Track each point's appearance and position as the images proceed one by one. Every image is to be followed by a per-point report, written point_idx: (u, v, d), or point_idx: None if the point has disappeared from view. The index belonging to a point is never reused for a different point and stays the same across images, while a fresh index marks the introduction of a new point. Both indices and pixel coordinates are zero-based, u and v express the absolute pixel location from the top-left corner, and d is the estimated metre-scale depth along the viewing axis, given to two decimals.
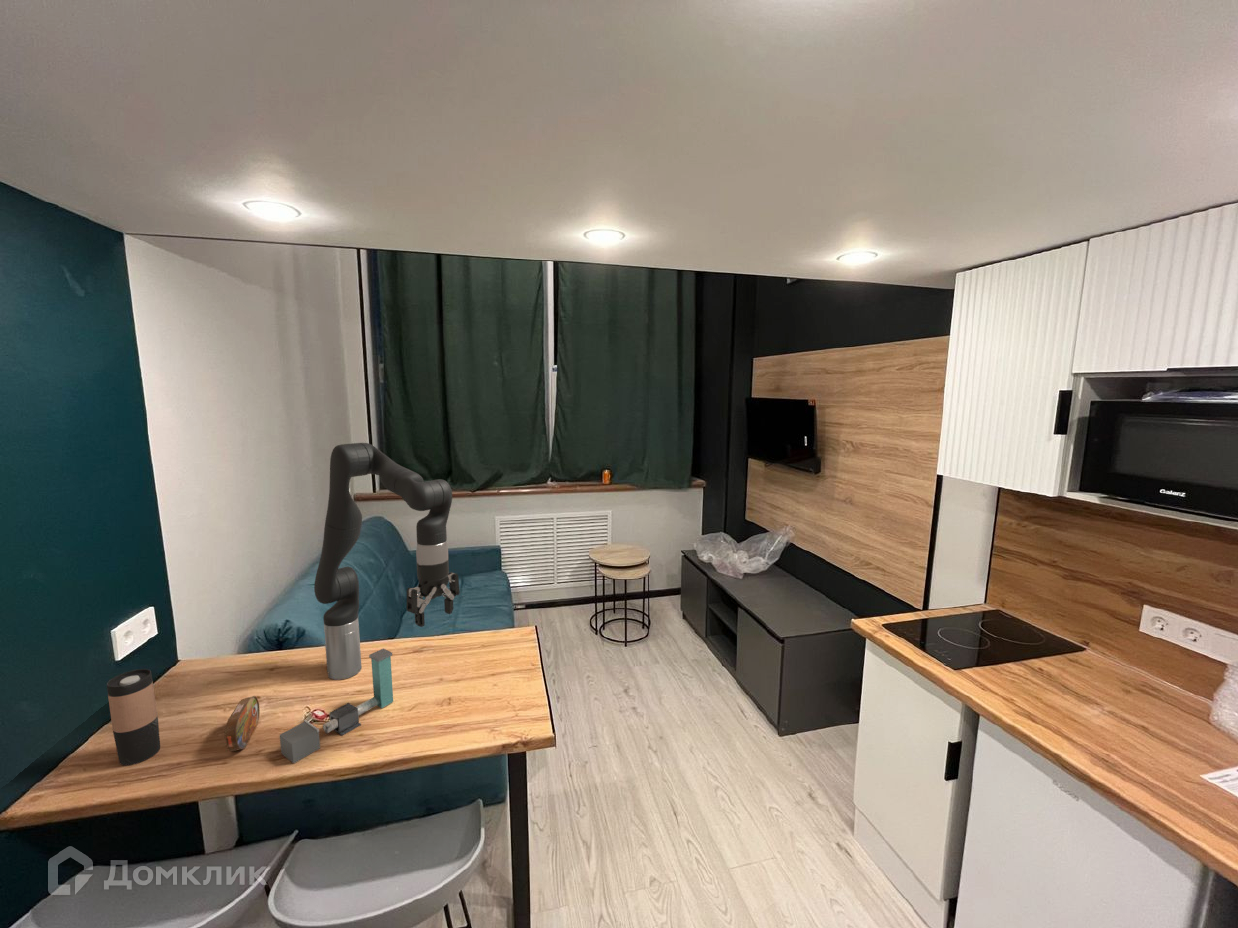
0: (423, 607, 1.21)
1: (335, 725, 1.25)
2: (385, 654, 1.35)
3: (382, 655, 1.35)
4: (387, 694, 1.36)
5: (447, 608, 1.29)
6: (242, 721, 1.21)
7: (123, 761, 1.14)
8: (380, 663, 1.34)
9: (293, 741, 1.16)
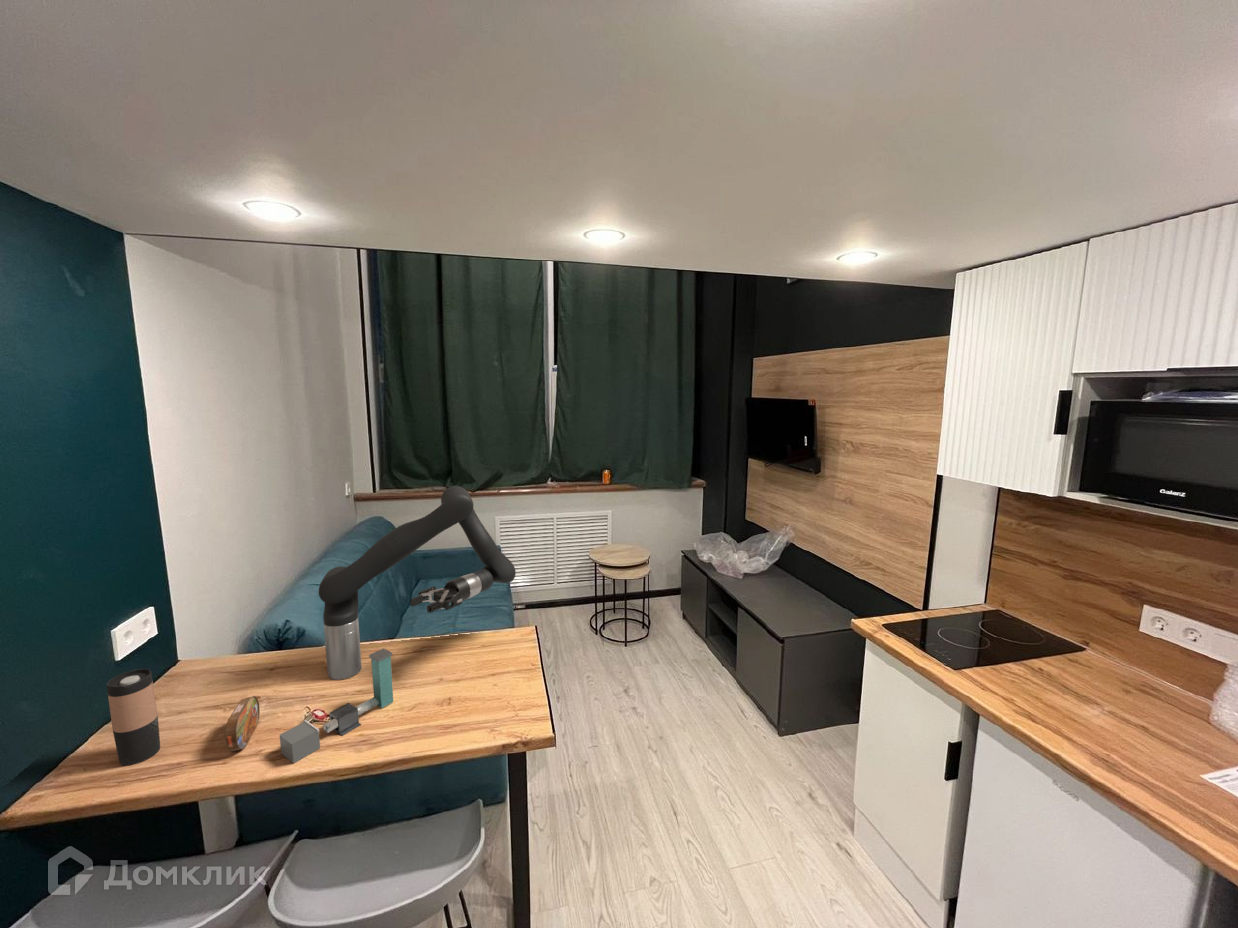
0: None
1: (335, 725, 1.25)
2: (385, 654, 1.35)
3: (382, 655, 1.35)
4: (387, 694, 1.36)
5: (415, 602, 1.48)
6: (242, 721, 1.21)
7: (123, 762, 1.14)
8: (380, 663, 1.34)
9: (293, 741, 1.16)
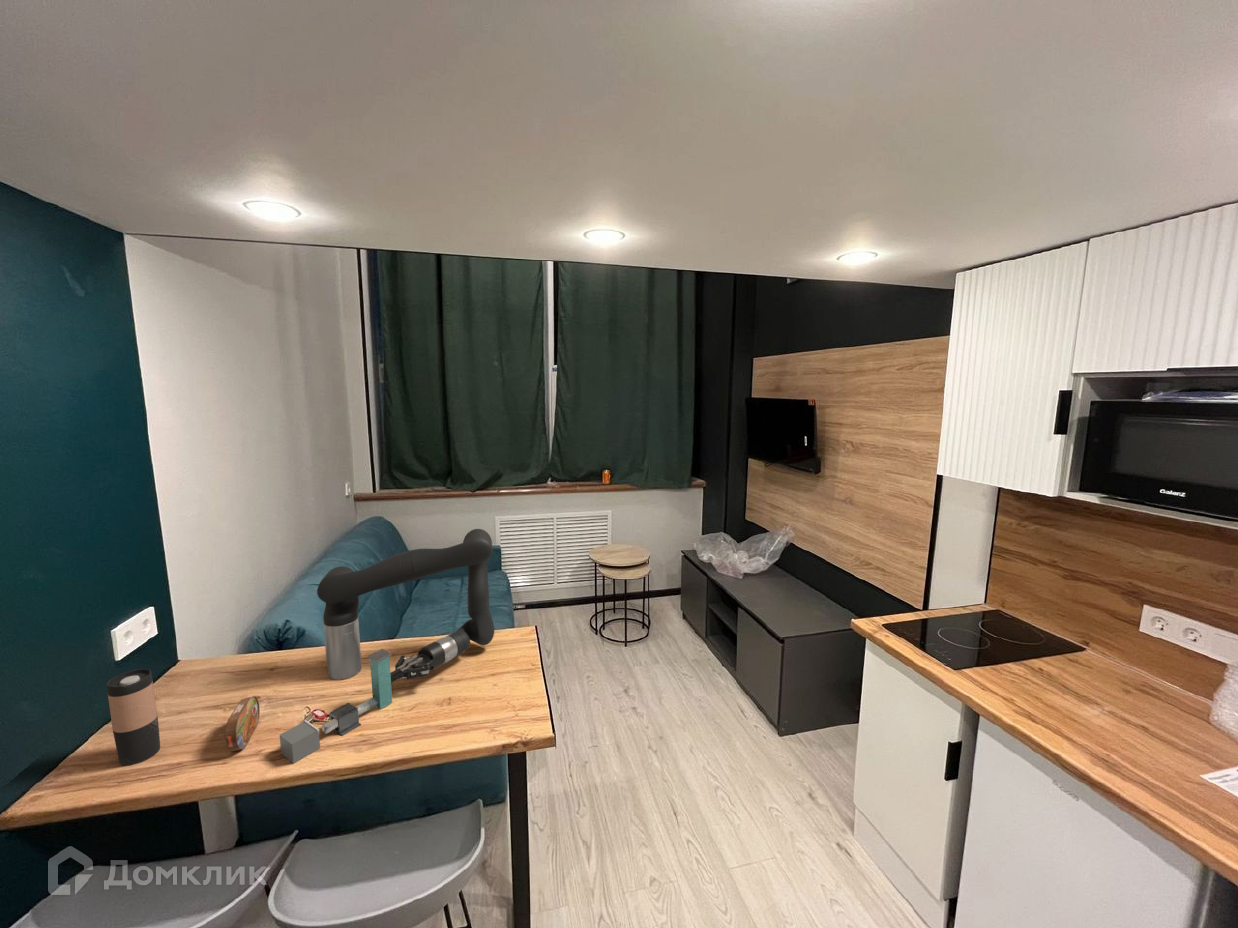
0: None
1: (334, 726, 1.25)
2: (384, 655, 1.35)
3: (381, 656, 1.34)
4: (386, 694, 1.36)
5: None
6: (242, 721, 1.21)
7: (123, 762, 1.14)
8: (379, 664, 1.33)
9: (293, 741, 1.16)
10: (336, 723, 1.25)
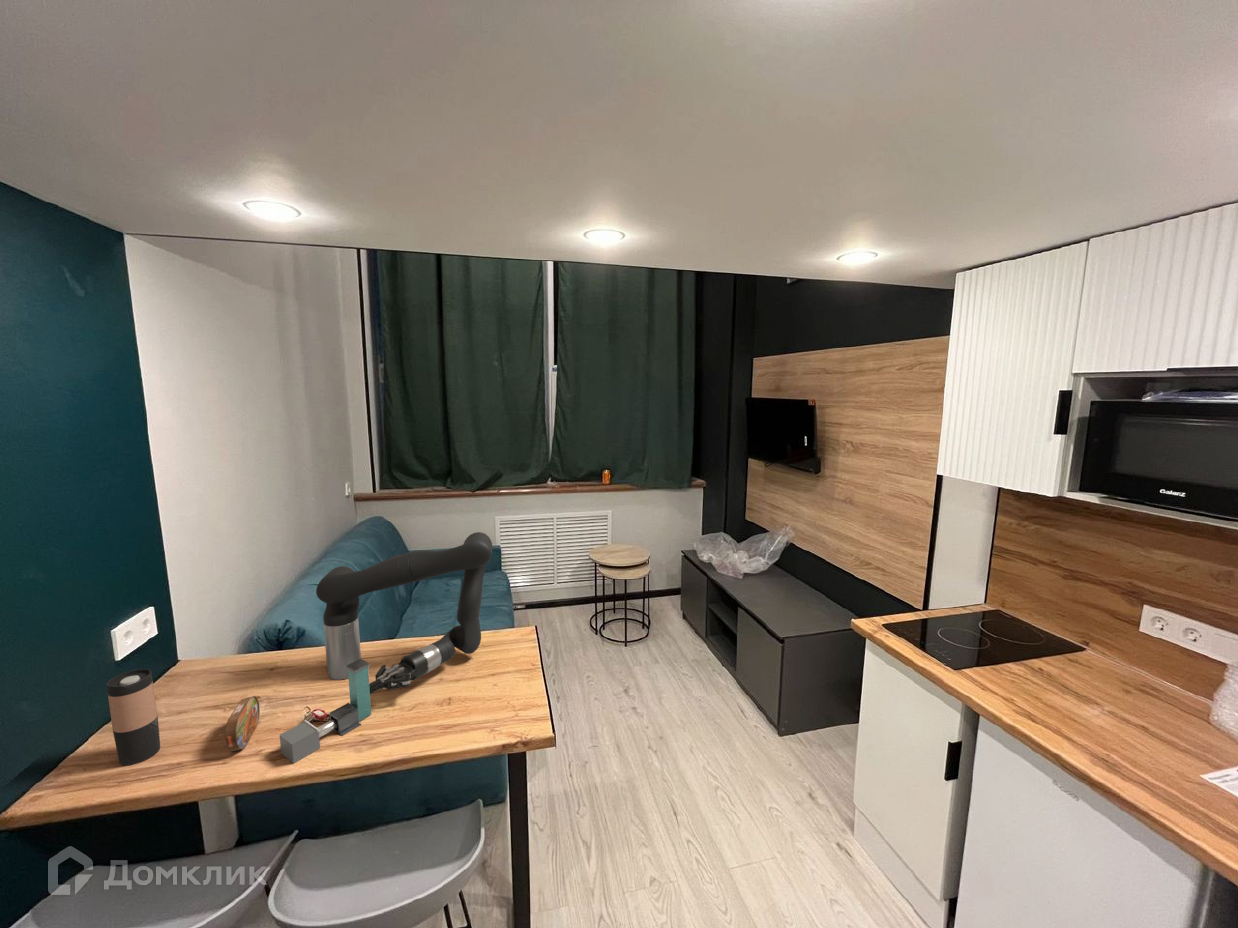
0: None
1: None
2: (362, 665, 1.30)
3: (359, 666, 1.29)
4: (365, 706, 1.31)
5: None
6: (242, 721, 1.21)
7: (123, 761, 1.14)
8: (357, 674, 1.28)
9: (293, 741, 1.16)
10: None
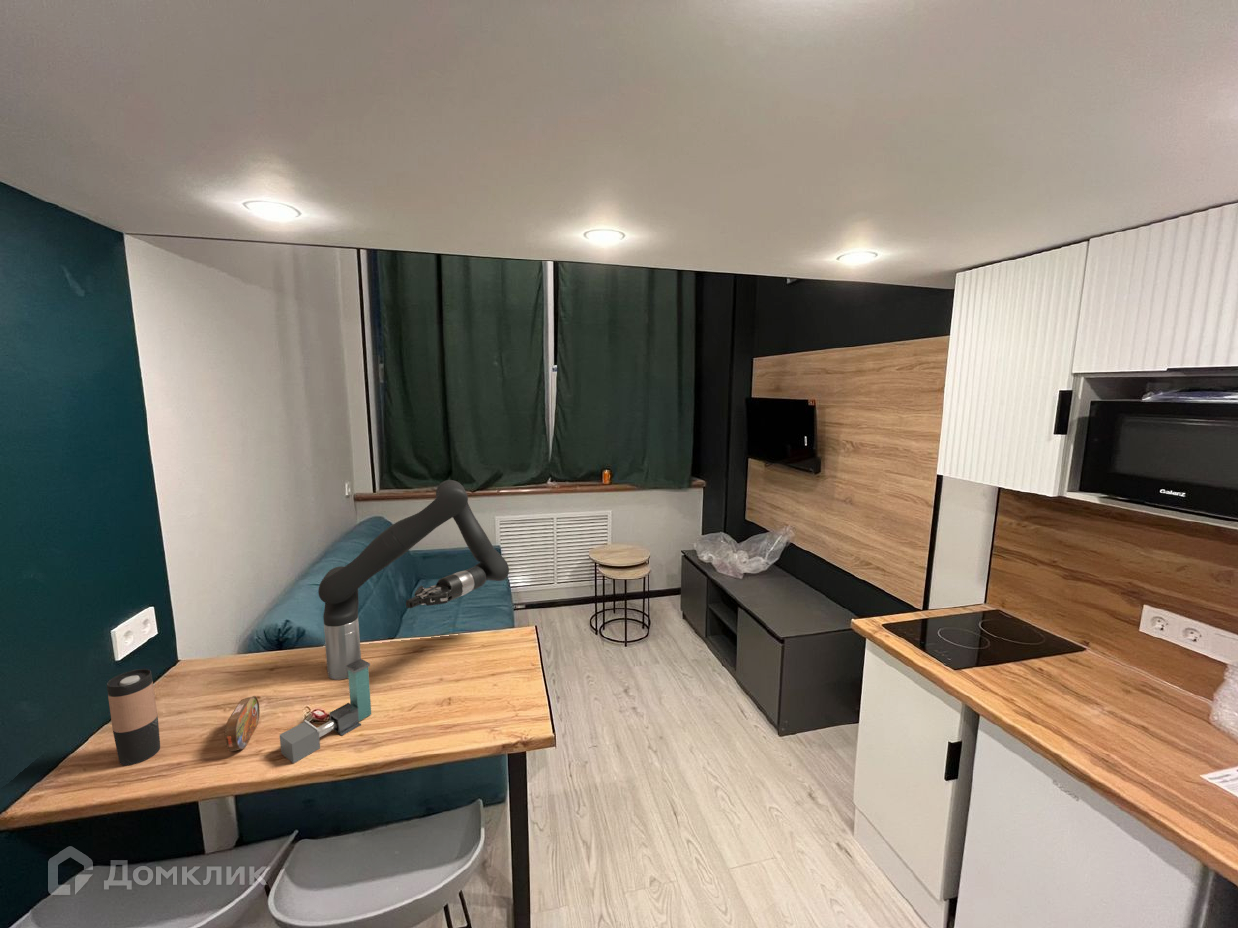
0: None
1: None
2: (362, 665, 1.30)
3: (359, 666, 1.29)
4: (365, 706, 1.31)
5: None
6: (242, 721, 1.21)
7: (123, 761, 1.14)
8: (357, 674, 1.28)
9: (293, 741, 1.16)
10: None
